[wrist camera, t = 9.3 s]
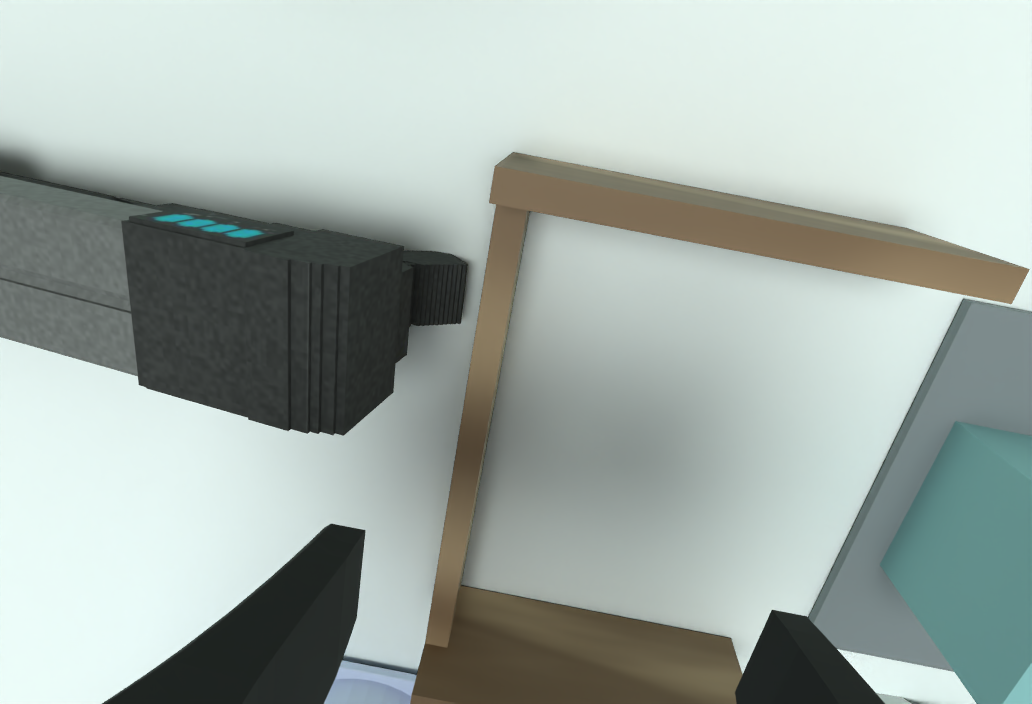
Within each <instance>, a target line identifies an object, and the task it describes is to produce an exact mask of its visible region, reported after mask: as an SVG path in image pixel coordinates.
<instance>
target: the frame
mask: <svg viewBox="0 0 1032 704" xmlns="http://www.w3.org/2000/svg"><path fill="white" fill-rule="evenodd" d="M489 203H492V204H496V209H495V215H494V222H493V228H492V234H491V240H490V246H489V252H488V258H487V265H486V271H485V277H484V283H483V289H482V295H481V302H480V308H479V314H478V320H477V326H476V332H475V339H474V345H473V351H472V357H471V363H470V369H469V376H468V382H467V388H466V394H465V400H464V406H463V413H462V419H461V425H460V431H459V437H458V443H457V450H456V456H455V462H454V468H453V474H452V480H451V487H450V493H449V499H448V505H447V511H446V517H445V523H444V530H443V536H442V542H441V548H440V554H439V560H438V567H437V573H436V579H435V585H434V591H433V597H432V604H431V610H430V616H429V622H428V628H427V634H426V641H425V645H424V649H423V653H422V657H421V661H420V665H419V668H418V672H417V676H416V680H415V684H414V687H413V691H412V695H411V702H410V704H737V703H736V696H735V691H736V688H737V686H738V684H739V682H740V679H741V677H742V672H741V668H740V665H739V662H738V659H737V656H736V653H735V650H734V646H733V643H732V640H731V638H726V637H721V636H716V635H711V634H706V633H701V632H696V631H690V630H685V629H680V628H675V627H670V626H665V625H660V624H655V623H650V622H644V621H639V620H634V619H629V618H624V617H619V616H614V615H609V614H604V613H598V612H593V611H588V610H583V609H578V608H573V607H568V606H563V605H558V604H552V603H547V602H542V601H537V600H532V599H527V598H522V597H517V596H512V595H506V594H501V593H496V592H491V591H486V590H481V589H476V588H471V587H466V586H461V582H462V577H463V571H464V566H465V560H466V555H467V550H468V544H469V539H470V533H471V528H472V522H473V517H474V512H475V506H476V501H477V495H478V490H479V484H480V479H481V474H482V468H483V463H484V457H485V452H486V447H487V441H488V436H489V430H490V425H491V419H492V414H493V409H494V403H495V398H496V392H497V387H498V381H499V376H500V371H501V365H502V360H503V354H504V349H505V343H506V338H507V333H508V327H509V322H510V316H511V311H512V305H513V300H514V295H515V289H516V284H517V278H518V273H519V267H520V262H521V257H522V251H523V246H524V240H525V235H526V230H527V224H528V219H529V213H530V211H533V212H538V213H543V214H549V215H554V216H559V217H564V218H569V219H574V220H580V221H585V222H590V223H595V224H600V225H605V226H611V227H616V228H621V229H626V230H631V231H637V232H642V233H647V234H652V235H657V236H662V237H668V238H673V239H678V240H683V241H688V242H693V243H699V244H704V245H709V246H714V247H719V248H724V249H730V250H735V251H740V252H745V253H750V254H755V255H761V256H766V257H771V258H776V259H781V260H786V261H792V262H797V263H802V264H807V265H812V266H818V267H823V268H828V269H833V270H838V271H843V272H849V273H854V274H859V275H864V276H869V277H874V278H880V279H885V280H890V281H895V282H900V283H905V284H911V285H916V286H921V287H926V288H931V289H936V290H942V291H947V292H952V293H957V294H962V295H967V296H973V297H978V298H983V299H988V300H993V301H999V302H1004V303H1009V304H1012V302H1013V300H1014V298H1015V297H1016V295H1017V293H1018V291H1019V289H1020V287H1021V285H1022V283H1023V281H1024V279H1025V277H1026V275H1027V273H1028V272H1029V270H1030V269H1027V268H1024V267H1021V266H1018V265H1015V264H1012V263H1009V262H1006V261H1003V260H1000V259H997V258H994V257H991V256H988V255H985V254H982V253H979V252H976V251H973V250H970V249H967V248H964V247H961V246H958V245H955V244H953V243H950V242H947V241H944V240H941V239H938V238H935V237H932V236H929V235H926V234H923V233H920V232H917V231H914V230H911V229H908V228H903V227H898V226H893V225H888V224H882V223H877V222H872V221H867V220H862V219H857V218H851V217H846V216H841V215H836V214H831V213H825V212H820V211H815V210H810V209H805V208H800V207H794V206H789V205H784V204H779V203H774V202H768V201H763V200H758V199H753V198H748V197H743V196H737V195H732V194H727V193H722V192H717V191H711V190H706V189H701V188H696V187H691V186H686V185H680V184H675V183H670V182H665V181H660V180H654V179H649V178H644V177H639V176H634V175H629V174H623V173H618V172H613V171H608V170H603V169H598V168H592V167H587V166H582V165H577V164H572V163H566V162H561V161H556V160H551V159H546V158H541V157H535V156H530V155H525V154H520V153H515V152H513V153H511V154H510V155H509V156H508V157H506V158H505V159H504V160H502V161H501V162H500V163H498V164H497V165H496V166H495V168H494V175H493V181H492V187H491V194H490V200H489Z"/></svg>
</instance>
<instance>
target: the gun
mask: <svg viewBox="0 0 1032 704" xmlns="http://www.w3.org/2000/svg"><path fill="white" fill-rule="evenodd" d="M403 248H404V246H400V245H395V244H390V243H386V242H381V241H376V240H371V239H367V238H362V237H357V236H352V235H348V234H343V233H338V232H333V231H329V230H324V229H322V230H318V231H311V230H306V229H301V228H297V227H292V226H287V225H282V224H278V223H272V224H269V223H264V222H260V221H255V220H250V219H245V218H241V217H236V216H231V215H227V214H222V213H217V212H213V211H208V210H203V209H196V208H192V207H187V206H182V205H178V204H173V203H172V204H164V205H157V206H155V205H151V204H146V203H141V202H137V201H132V200H128V199H123V198H116V197H114V196H109V195H105V194H100V193H95V192H91V191H86V190H81V189H77V188H72V187H68V186H63V185H58V184H54V183H49V182H44V181H40V180H35V179H30V178H26V177H21V176H17V175H12V174H7V173H3V172H0V337H2V338H6V339H9V340H13V341H16V342H20V343H23V344H27V345H30V346H34V347H37V348H41V349H44V350H48V351H51V352H55V353H58V354H62V355H65V356H69V357H72V358H76V359H79V360H83V361H86V362H90V363H93V364H97V365H100V366H104V367H107V368H111V369H114V370H118V371H121V372H125V373H128V374H132V375H135V376H138V381H139V385H141V386H144V387H146V388H147V389H151V390H154V391H158V392H161V393H165V394H168V395H172V396H175V397H179V398H182V399H185V400H189V401H192V402H196V403H199V404H203V405H206V406H210V407H213V408H217V409H220V410H224V411H227V412H230V413H234V414H237V415H241V416H244V417H248V419H249V420H252V421H256V422H259V423H262V424H266V425H269V426H273V427H276V428H280V429H283V430H287V431H289V430H290V429H293V430H297V431H300V432H304V433H309V432H313V433H317V434H319V433H320V432H323V433H327V434H330V435H334V434H335V433H337V434H340V435H345V434H346V433H347V432H348V431H349V430H351V429H352V428H353V427H354V426H355V425H356V424H357V423H359V422H360V421H361V420H362V419H363V418H364V417H365V416H367V415H368V414H369V413H370V412H371V411H372V410H374V409H375V408H376V407H377V406H378V405H379V404H380V403H382V402H383V401H384V400H385V399H386V398H387V397H388V396H390V395H391V394H392V393H393V388H394V374H395V363H397V362H398V361H399V360H401V359H402V358H403V357H404V356H406V355H407V346H408V333H409V327H410V326H411V324H412V325H416V326H420V325H422V326H424V325H428V326H429V325H434V324H435V325H438V324H440V325H443V324H446V325H447V324H456V323H458V324H460V323H461V317H462V308H463V299H464V291H465V282H466V273H467V264H465V263H463V261H461V260H459V259H458V258H457V257H455V256H453V255H451V254H447V253H441V252H433V251H425V252H424V251H403Z"/></svg>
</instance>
